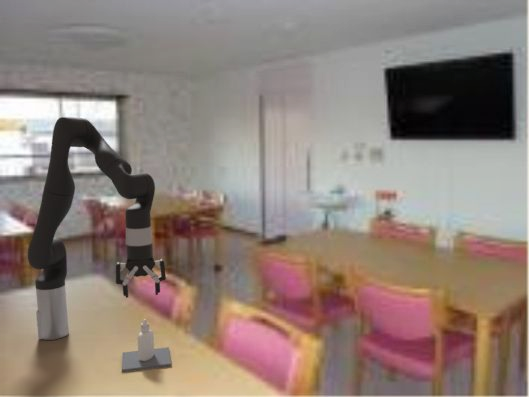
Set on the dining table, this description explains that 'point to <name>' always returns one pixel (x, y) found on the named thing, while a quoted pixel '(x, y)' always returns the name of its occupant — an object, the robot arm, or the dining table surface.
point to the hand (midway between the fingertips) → (141, 295)
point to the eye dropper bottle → (145, 342)
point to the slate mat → (158, 360)
